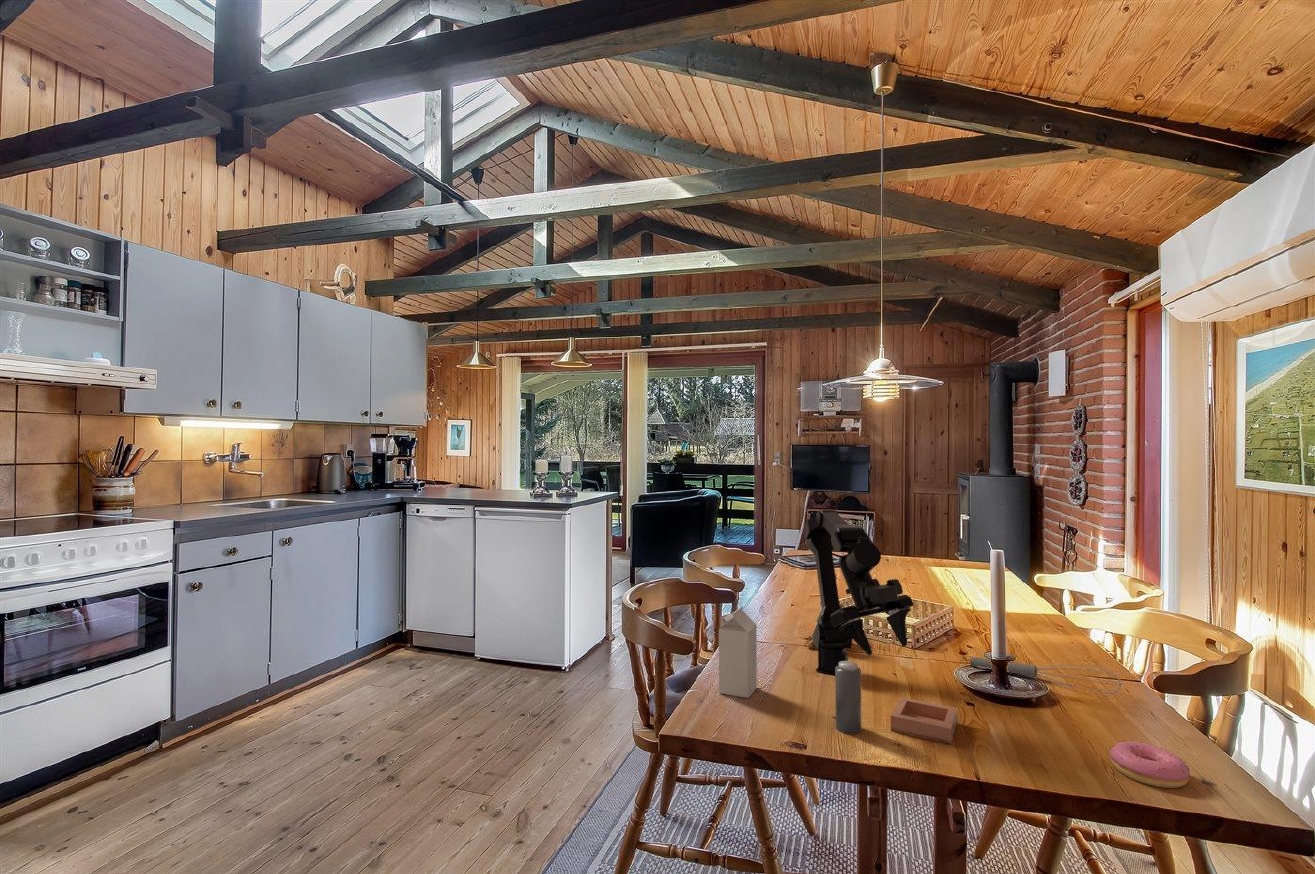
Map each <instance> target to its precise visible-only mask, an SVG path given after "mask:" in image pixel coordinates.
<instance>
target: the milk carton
mask: <svg viewBox="0 0 1315 874" xmlns="http://www.w3.org/2000/svg"><path fill="white" fill-rule="evenodd" d="M723 619H724V620H725V623H724V624H723V625H721V626H720V627H719V629H718V693H719V694H723V695H728V696H734V697H737V698H738V697H740V698H745V699H749V698H750V697H751V695H752V694H753V693H754V692H755V690H756V689H757V685H758V684H757V683H758V682H757V680H758V677H757V676H758V675H757V674H758V673H757V669H758V668H757V667H758V666H757V663H758V662H757V660H758V659H757V656H758V653H757V650H758V649H757V648H758V647H757V636H758V635H757V634H758V633H757V630H758V629H757V624H756V622H754V620H753V619H752V618H751V617H750V616H749V615H748V614H747V613H746V612H745V611H744V606H743V605H741V606H740V607H739V608H737V609H736V610H735V611H734V612H730V613H729V614H727V615H726V616H725V617H723Z"/></svg>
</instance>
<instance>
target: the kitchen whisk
mask: <svg viewBox="0 0 1315 874" xmlns="http://www.w3.org/2000/svg"><path fill="white" fill-rule="evenodd" d="M966 658H969V665H970V667H972V666H981V667H989V668H991V661H990V659H991V658H984V657H977V656H974V657H973V656H972V655H968V656H967V655H966V656H964V657H963V658H962V659H961V661H962V664H963V665H964V666H966V664H965V663H964V661H963V660H964V659H966ZM1008 662H1009V664H1008V670H1009V672H1010V673H1009V674H1012V673H1018V674H1017V675H1019V674H1022V675H1021V676H1025V675H1026V676H1027V677H1033V678H1036V677H1040V678H1042V679H1045V680H1046V681H1049V682H1052V683H1054V684H1057V685H1059V686H1062V687H1065V688H1067V689H1071V690H1073V688H1071V687H1072V686H1073V687H1074V688H1076V687H1079V688H1083V689H1087V690H1093V691H1101V692H1102V694H1100V696H1102V697H1109V696H1113V695H1116V694H1117V693H1118V692H1119V691H1120V690H1121V686H1122V684H1123V683H1122V680H1121V679H1120V678H1119V676H1118V675H1117V674H1116V673H1115V672H1114V671H1112V670H1110V669H1108V668H1105V667H1102V666H1098V665H1094V667H1096V668H1095V670H1094V668H1092V667H1093V665H1092V664H1091V665H1089V664H1086V667H1087V666H1088V669H1085V667H1083V666H1082V667H1081V666H1080V667H1079V666H1066V664H1058V665H1056V666H1054V665H1049V666H1048V665H1047V668H1046V667H1045V666H1042V667H1037V666H1036V665H1033V664H1027V663H1018V662H1013V661H1008ZM1089 666H1090V667H1089ZM1098 668H1101V669H1098ZM1052 669H1062V670H1066V671H1068V670H1069V671H1070V670H1071V671H1081V669H1084V671H1087V672H1093V670H1094V672H1096V673H1102V674H1107V675H1109V676H1110V675H1111V676H1113V677H1115V678H1116V679H1117V680H1118V682H1115V681H1114V680H1113V681H1112V680H1108V679H1107V680H1106V679H1103V681H1104V684H1107V685H1110V683H1112V685H1115V686H1118V688H1116V689H1112V690H1111V689H1110V690H1108V689H1107V690H1103V689H1097V688H1096V689H1095V688H1088V687H1084V686H1080V685H1076V684H1072V683H1068V682H1064V681H1061V680H1059V679H1058V680H1057V679H1054V678H1052V677H1047V676H1046V675H1048V674H1049V675H1051V676H1054V675H1055V676H1056V677H1062V678H1068V679H1069V678H1070V679H1071V677H1072V679H1074V680H1079V681H1086V682H1090V683H1091V682H1092V683H1093V682H1094V683H1096V681H1093V680H1096V678H1093V677H1090V679H1092V680H1088V679H1089V676H1087V677H1086V676H1083V678H1085V679H1082V676H1079V675H1076V677H1079V678H1076V677H1075V675H1071V674H1068V676H1067V674H1065V673H1060V674H1059V673H1058V672H1057V673H1056V672H1052V673H1051V672H1050V671H1049V672H1048V671H1045V670H1052ZM1089 669H1090V670H1089ZM1103 669H1104V670H1103ZM1041 670H1043V671H1044V672H1043V671H1041ZM1106 670H1107V671H1106ZM1108 671H1109V672H1108ZM1043 674H1045V675H1043ZM1080 678H1081V679H1080ZM1097 680H1099V681H1100V682H1099V681H1097V684H1098V683H1099V684H1103V682H1101V681H1102V679H1101V678H1097ZM1105 681H1106V682H1105ZM1108 682H1110V683H1108ZM1063 684H1064V685H1063ZM1068 686H1069V687H1068ZM1103 693H1104V694H1103ZM1111 693H1112V694H1111Z"/></svg>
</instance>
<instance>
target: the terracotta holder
mask: <svg viewBox="0 0 1315 874" xmlns="http://www.w3.org/2000/svg"><path fill="white" fill-rule="evenodd" d="M957 726H958V708H956V707H953V706H948V705H943V704H937V703H932V702H928V701H924V700H917V699H913V698H907V697H904V696H900V697H899V699H898V701H897V703H896V705H895V707H894V709H893V710H892V713H891V714H890V731H891V732H893V733H894V732H895V733H899V734H902V735H903V734H904V735H907V736H913V737H915V738H916V737H917V738H920V739H921V738H922V739H924V740H929V741H934V742H938V743H942V744H946V743H948V744H947V745H952V744H951V743H953V739H954V737H955V733H956V729H957Z"/></svg>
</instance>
